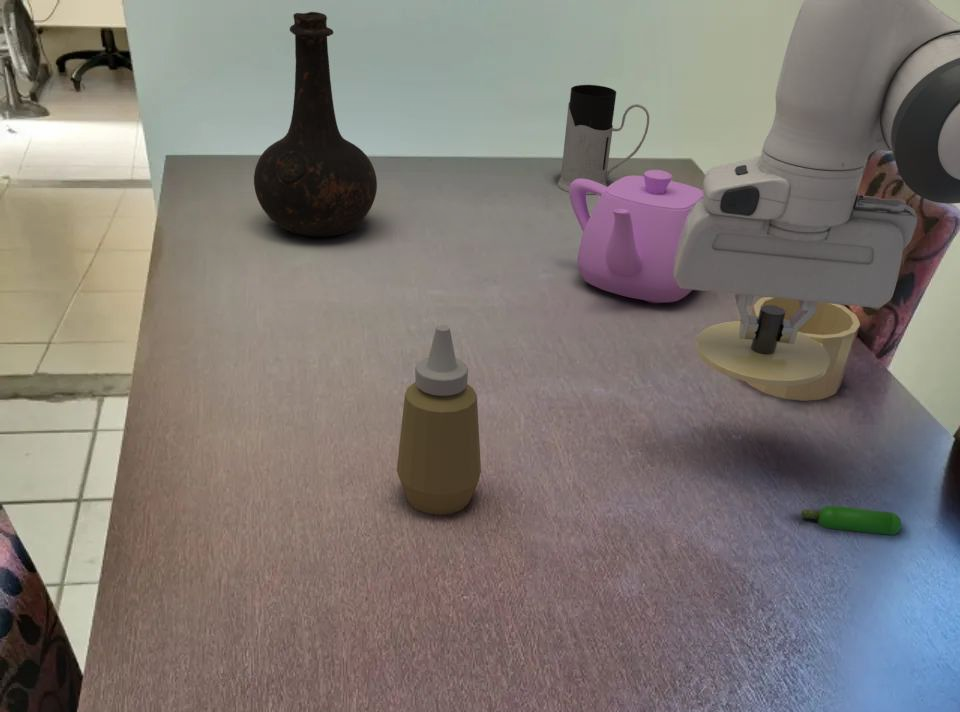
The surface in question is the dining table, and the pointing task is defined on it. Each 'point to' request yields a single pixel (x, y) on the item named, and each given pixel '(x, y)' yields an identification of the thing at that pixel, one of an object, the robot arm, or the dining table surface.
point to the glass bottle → (314, 151)
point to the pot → (832, 332)
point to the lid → (763, 352)
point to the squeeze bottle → (439, 433)
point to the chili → (856, 520)
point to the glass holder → (590, 135)
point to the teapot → (633, 234)
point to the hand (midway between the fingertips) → (765, 338)
